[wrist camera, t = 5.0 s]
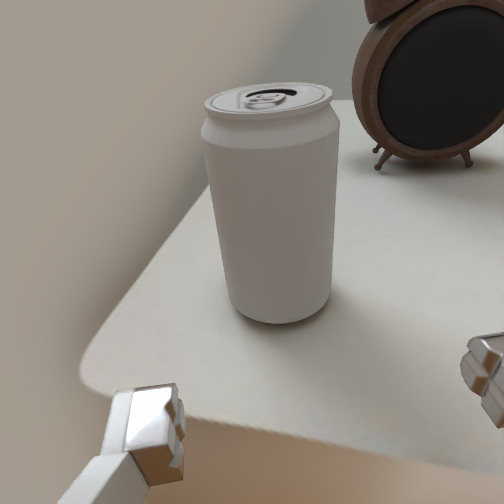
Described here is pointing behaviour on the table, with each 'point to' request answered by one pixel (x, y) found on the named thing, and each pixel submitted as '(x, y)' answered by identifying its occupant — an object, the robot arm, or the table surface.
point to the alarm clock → (430, 77)
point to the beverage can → (274, 195)
